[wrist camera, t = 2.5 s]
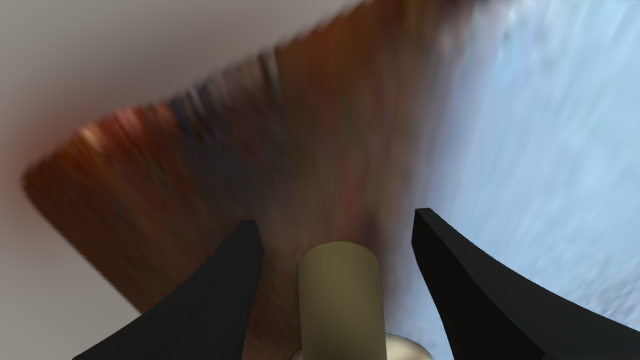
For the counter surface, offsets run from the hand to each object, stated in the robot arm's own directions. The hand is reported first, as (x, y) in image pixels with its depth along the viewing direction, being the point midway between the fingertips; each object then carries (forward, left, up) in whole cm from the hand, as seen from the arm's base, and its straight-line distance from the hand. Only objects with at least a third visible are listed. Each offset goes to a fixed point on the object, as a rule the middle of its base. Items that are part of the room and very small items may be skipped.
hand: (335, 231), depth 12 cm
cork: (-4, +6, -4) cm, 9 cm away
